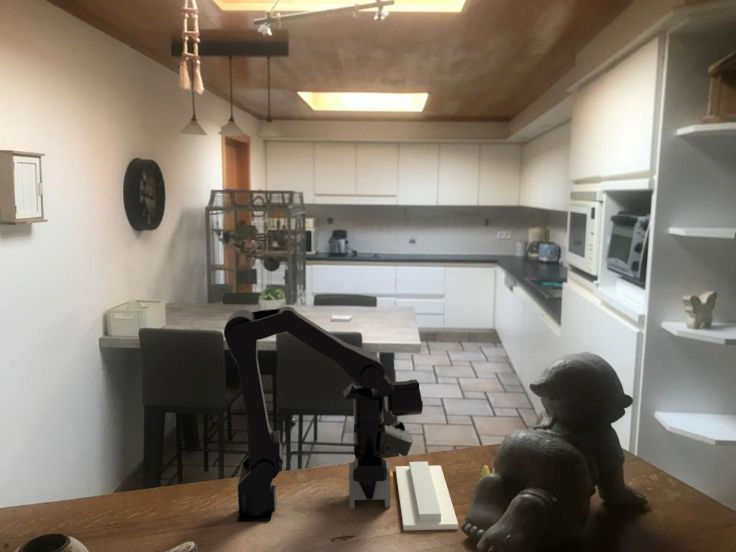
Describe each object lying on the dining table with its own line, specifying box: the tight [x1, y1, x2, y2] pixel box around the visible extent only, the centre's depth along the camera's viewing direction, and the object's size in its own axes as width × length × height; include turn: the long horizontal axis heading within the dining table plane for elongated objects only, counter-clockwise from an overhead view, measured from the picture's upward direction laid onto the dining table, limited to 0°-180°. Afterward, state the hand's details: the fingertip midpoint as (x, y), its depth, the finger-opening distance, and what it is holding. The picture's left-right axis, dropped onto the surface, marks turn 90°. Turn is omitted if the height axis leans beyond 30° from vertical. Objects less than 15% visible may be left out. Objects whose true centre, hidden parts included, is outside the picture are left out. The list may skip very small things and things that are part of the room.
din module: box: [348, 461, 394, 510], centre depth 112 cm, size 9×5×7 cm, turn 91°
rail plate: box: [395, 461, 459, 531], centre depth 114 cm, size 10×22×2 cm, turn 1°
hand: (369, 491), depth 112 cm, fingers closed on din module, 5 cm apart
